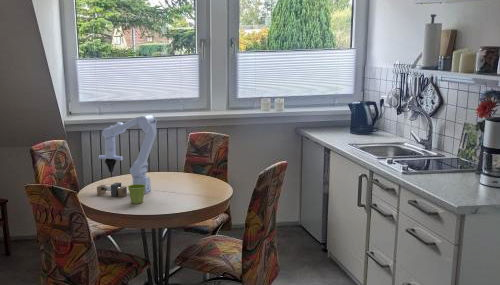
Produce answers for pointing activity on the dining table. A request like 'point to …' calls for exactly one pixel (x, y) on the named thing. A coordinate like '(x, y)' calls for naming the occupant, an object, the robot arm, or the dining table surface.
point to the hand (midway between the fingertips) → (111, 171)
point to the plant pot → (136, 193)
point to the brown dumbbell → (103, 188)
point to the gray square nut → (115, 189)
